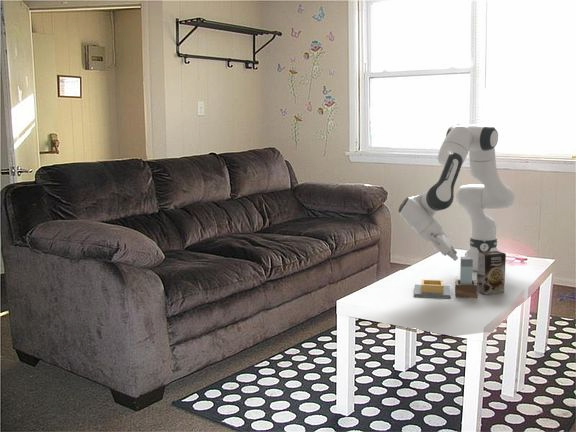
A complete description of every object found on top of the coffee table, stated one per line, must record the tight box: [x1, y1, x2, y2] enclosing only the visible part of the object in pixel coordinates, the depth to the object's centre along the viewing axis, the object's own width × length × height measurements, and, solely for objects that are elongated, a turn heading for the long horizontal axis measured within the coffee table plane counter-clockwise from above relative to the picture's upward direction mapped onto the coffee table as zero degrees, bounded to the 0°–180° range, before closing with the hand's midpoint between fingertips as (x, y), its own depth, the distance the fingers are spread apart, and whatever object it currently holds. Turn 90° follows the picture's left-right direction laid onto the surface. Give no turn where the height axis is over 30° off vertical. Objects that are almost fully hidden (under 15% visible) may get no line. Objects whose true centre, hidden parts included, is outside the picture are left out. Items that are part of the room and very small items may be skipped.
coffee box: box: [476, 251, 507, 295], centre depth 255 cm, size 9×6×16 cm
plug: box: [459, 256, 474, 285], centre depth 251 cm, size 4×4×15 cm
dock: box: [413, 279, 451, 299], centre depth 256 cm, size 14×14×4 cm
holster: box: [454, 279, 478, 299], centre depth 252 cm, size 8×8×5 cm
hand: (456, 256), depth 251 cm, fingers open, 8 cm apart
